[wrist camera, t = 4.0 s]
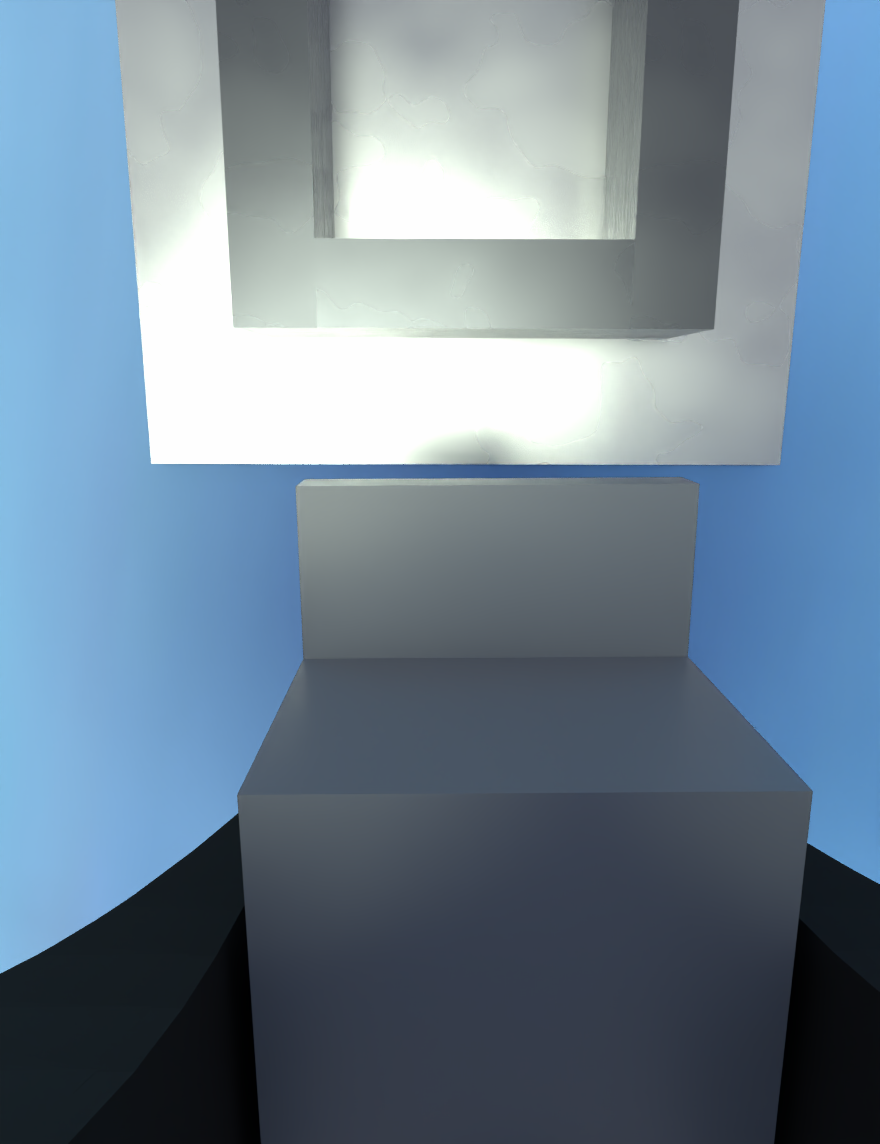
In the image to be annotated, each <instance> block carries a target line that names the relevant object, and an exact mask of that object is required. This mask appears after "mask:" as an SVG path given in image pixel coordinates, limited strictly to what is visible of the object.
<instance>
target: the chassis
mask: <svg viewBox="0 0 880 1144" xmlns="http://www.w3.org/2000/svg"><path fill="white" fill-rule="evenodd" d="M825 1H826V0H115V3H116V16H117V29H118V42H119V54H120V67H121V80H122V93H123V106H124V119H125V131H126V144H127V157H128V170H129V183H130V195H131V208H132V221H133V234H134V247H135V259H136V272H137V285H138V298H139V311H140V324H141V336H142V349H143V362H144V375H145V388H146V400H147V413H148V426H149V439H150V452H151V464H542V465H780V459H781V449H782V439H783V429H784V419H785V408H786V398H787V388H788V378H789V368H790V357H791V347H792V337H793V327H794V317H795V306H796V296H797V286H798V276H799V266H800V256H801V245H802V235H803V225H804V215H805V205H806V194H807V184H808V174H809V164H810V154H811V143H812V133H813V123H814V113H815V103H816V92H817V82H818V72H819V62H820V52H821V41H822V31H823V21H824V11H825Z"/></svg>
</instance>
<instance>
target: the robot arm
mask: <svg viewBox="0 0 880 1144" xmlns="http://www.w3.org/2000/svg"><path fill="white" fill-rule="evenodd" d="M0 1144H261V1137H260V1123H259V1108H258V1093H257V1078H256V1063H255V1049H254V1034H253V1019H252V1004H251V990H250V975H249V960H248V945H247V931H246V916H245V901H244V886H243V872H242V857H241V842H240V827H239V813H238V814H237V815H236V816H234V817H233V818H232V819H231V820H230V821H228V822H227V823H226V824H225V825H224V826H222V827H221V828H220V829H219V830H218V831H216V832H215V833H214V834H213V835H212V836H210V837H209V838H208V839H207V840H206V841H204V842H203V843H202V844H201V845H200V846H198V847H197V848H196V849H195V850H193V851H192V852H191V853H190V854H188V855H187V856H186V857H184V858H183V859H182V860H180V861H179V862H177V863H176V864H175V865H173V866H172V867H171V868H169V869H168V870H167V871H165V872H164V873H163V874H161V875H160V876H159V877H157V878H156V879H155V880H153V881H152V882H151V883H149V884H148V885H147V886H145V887H144V888H143V889H141V890H140V891H138V892H137V893H136V894H134V895H133V896H132V897H130V898H129V899H127V900H126V901H124V902H123V903H121V904H120V905H118V906H117V907H115V908H114V909H112V910H111V911H109V912H108V913H106V914H105V915H103V916H101V917H100V918H98V919H97V920H95V921H94V922H92V923H90V924H89V925H87V926H85V927H84V928H82V929H80V930H79V931H77V932H75V933H74V934H72V935H70V936H69V937H67V938H65V939H64V940H62V941H60V942H59V943H57V944H55V945H54V946H52V947H50V948H48V949H47V950H45V951H43V952H41V953H40V954H38V955H36V956H34V957H32V958H30V959H28V960H26V961H24V962H22V963H20V964H18V965H16V966H14V967H13V968H11V969H9V970H7V971H5V972H3V973H1V974H0ZM774 1144H880V884H878V883H876V882H874V881H873V880H871V879H869V878H867V877H865V876H863V875H862V874H860V873H858V872H856V871H854V870H852V869H851V868H849V867H847V866H845V865H844V864H842V863H840V862H839V861H837V860H835V859H833V858H832V857H830V856H828V855H826V854H825V853H823V852H821V851H820V850H818V849H816V848H815V847H813V846H811V845H810V844H808V843H807V848H806V857H805V866H804V875H803V884H802V893H801V902H800V911H799V920H798V929H797V938H796V948H795V957H794V966H793V975H792V984H791V993H790V1002H789V1011H788V1020H787V1029H786V1039H785V1048H784V1057H783V1066H782V1075H781V1084H780V1093H779V1102H778V1111H777V1120H776V1129H775V1139H774Z"/></svg>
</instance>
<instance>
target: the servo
mask: <svg viewBox="0 0 880 1144" xmlns="http://www.w3.org/2000/svg"><path fill="white" fill-rule="evenodd" d="M698 498H699V484H698V483H695V482H693V481H690V480H687V479H685V478H682V477H637V478H443V479H305V480H304V481H302V482H301V483H299V484H298V485H296V504H297V526H298V548H299V571H300V593H301V615H302V637H303V661H302V663H301V665H300V667H299V669H298V671H297V673H296V675H295V677H294V679H293V681H292V684H291V686H290V688H289V690H288V692H287V694H286V696H285V698H284V700H283V702H282V704H281V706H280V708H279V710H278V712H277V714H276V716H275V718H274V721H273V723H272V725H271V727H270V729H269V731H268V733H267V735H266V737H265V739H264V741H263V743H262V745H261V747H260V749H259V751H258V753H257V755H256V758H255V760H254V762H253V764H252V766H251V768H250V770H249V772H248V774H247V776H246V778H245V780H244V782H243V784H242V786H241V788H240V790H239V792H238V795H237V798H238V813H239V827H240V842H241V857H242V872H243V886H244V901H245V916H246V931H247V945H248V960H249V975H250V990H251V1004H252V1019H253V1034H254V1049H255V1063H256V1078H257V1093H258V1108H259V1123H260V1137H261V1144H774V1139H775V1129H776V1120H777V1111H778V1102H779V1093H780V1084H781V1075H782V1066H783V1057H784V1048H785V1039H786V1029H787V1020H788V1011H789V1002H790V993H791V984H792V975H793V966H794V957H795V948H796V938H797V929H798V920H799V911H800V902H801V893H802V884H803V875H804V866H805V857H806V848H807V838H808V829H809V820H810V811H811V802H812V793H813V791H812V790H811V789H810V788H809V787H808V786H807V785H806V783H805V782H804V781H803V780H802V779H801V778H800V777H799V776H798V775H797V774H796V773H795V772H794V771H793V769H792V768H791V767H790V766H789V765H788V764H787V763H786V762H785V761H784V760H783V759H782V758H781V757H780V755H779V754H778V753H777V752H776V751H775V750H774V749H773V748H772V747H771V746H770V745H769V744H768V743H767V741H766V740H765V739H764V738H763V737H762V736H761V735H760V734H759V733H758V732H757V731H756V730H755V729H754V727H753V726H752V725H751V724H750V723H749V722H748V721H747V720H746V719H745V718H744V717H743V716H742V715H741V713H740V712H739V711H738V710H737V709H736V708H735V707H734V706H733V705H732V704H731V703H730V702H729V701H728V699H727V698H726V697H725V696H724V695H723V694H722V693H721V692H720V691H719V690H718V689H717V688H716V687H715V685H714V684H713V683H712V682H711V681H710V680H709V679H708V678H707V677H706V676H705V675H704V674H703V673H702V671H701V670H700V669H699V668H698V667H697V666H696V665H695V664H694V663H693V662H692V661H691V660H690V659H689V657H688V644H689V630H690V615H691V600H692V586H693V571H694V557H695V542H696V527H697V513H698Z"/></svg>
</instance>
